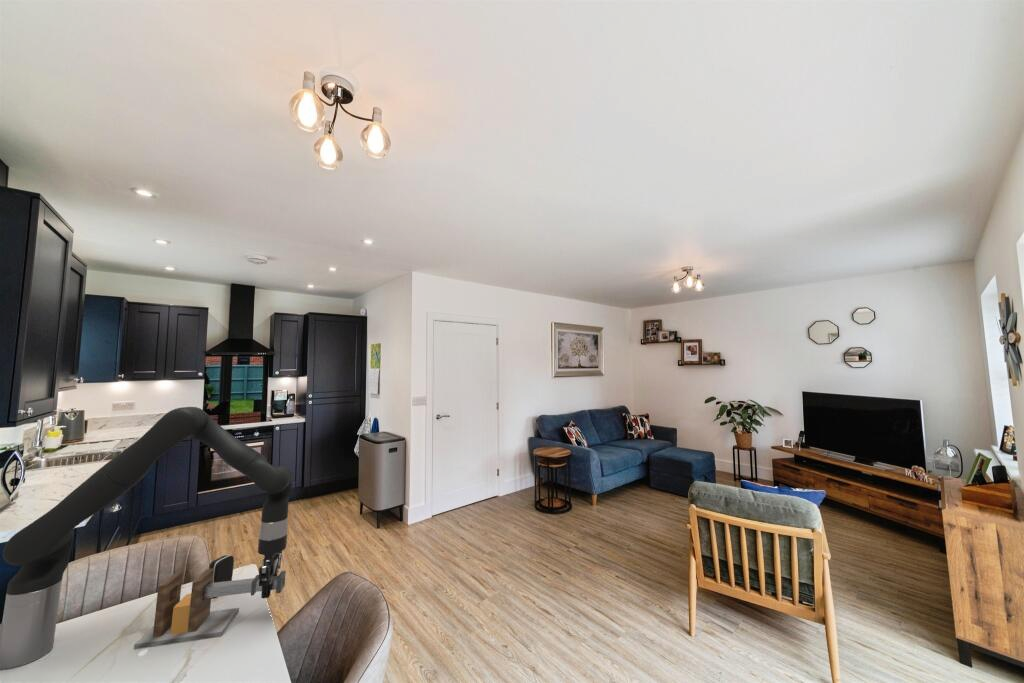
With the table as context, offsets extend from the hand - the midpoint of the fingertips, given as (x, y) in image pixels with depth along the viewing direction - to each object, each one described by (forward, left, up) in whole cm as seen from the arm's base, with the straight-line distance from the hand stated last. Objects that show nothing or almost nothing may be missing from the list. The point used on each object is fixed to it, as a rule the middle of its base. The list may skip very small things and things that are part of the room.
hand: (268, 592), depth 116 cm
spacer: (-21, 0, -6) cm, 22 cm away
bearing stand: (-19, 0, -7) cm, 21 cm away
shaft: (-7, 0, 0) cm, 7 cm away
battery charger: (-21, +20, -8) cm, 30 cm away
